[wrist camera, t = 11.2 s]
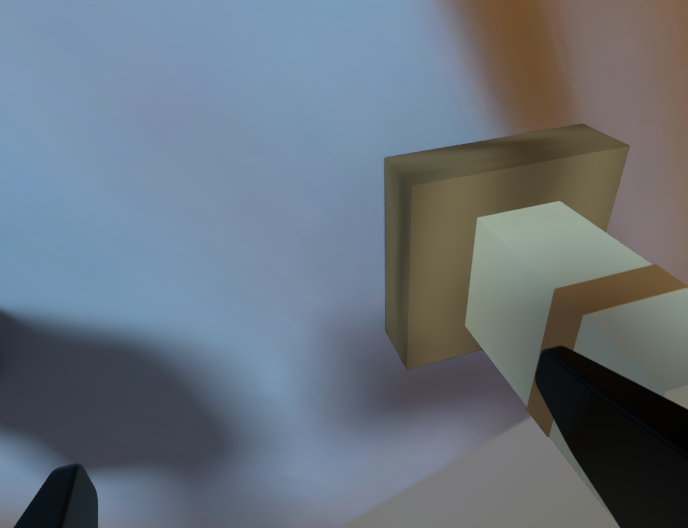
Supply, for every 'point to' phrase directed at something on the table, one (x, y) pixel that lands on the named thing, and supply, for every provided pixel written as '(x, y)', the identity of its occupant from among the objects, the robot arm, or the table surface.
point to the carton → (573, 306)
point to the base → (461, 218)
